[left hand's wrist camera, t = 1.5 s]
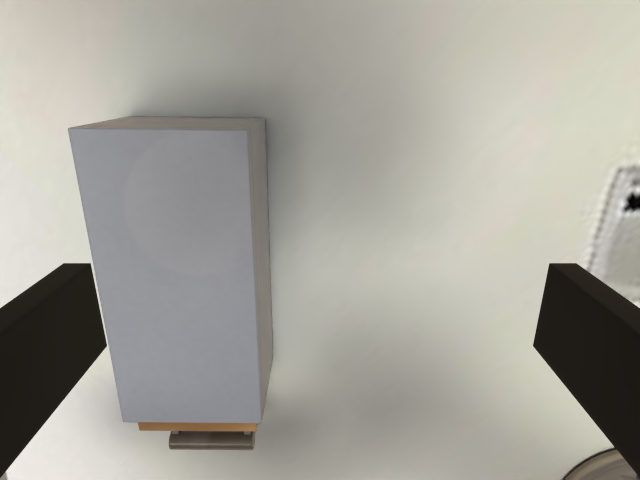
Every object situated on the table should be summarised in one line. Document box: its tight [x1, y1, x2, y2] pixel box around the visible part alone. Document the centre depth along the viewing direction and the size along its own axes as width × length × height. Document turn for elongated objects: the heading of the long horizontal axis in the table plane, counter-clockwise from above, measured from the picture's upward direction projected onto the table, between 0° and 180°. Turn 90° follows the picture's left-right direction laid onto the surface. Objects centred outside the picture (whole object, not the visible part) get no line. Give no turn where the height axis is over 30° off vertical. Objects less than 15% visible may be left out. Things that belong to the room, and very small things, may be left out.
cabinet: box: [68, 117, 273, 423], centre depth 33 cm, size 22×11×9 cm, turn 179°
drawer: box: [138, 422, 258, 450], centre depth 35 cm, size 26×9×7 cm, turn 179°
